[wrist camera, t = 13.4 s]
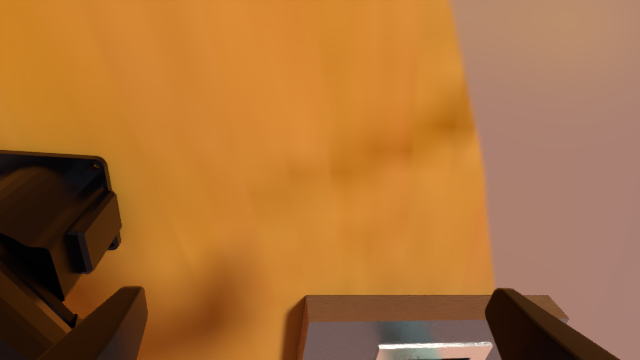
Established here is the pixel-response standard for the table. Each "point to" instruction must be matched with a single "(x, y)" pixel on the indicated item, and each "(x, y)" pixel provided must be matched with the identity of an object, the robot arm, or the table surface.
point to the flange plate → (401, 327)
